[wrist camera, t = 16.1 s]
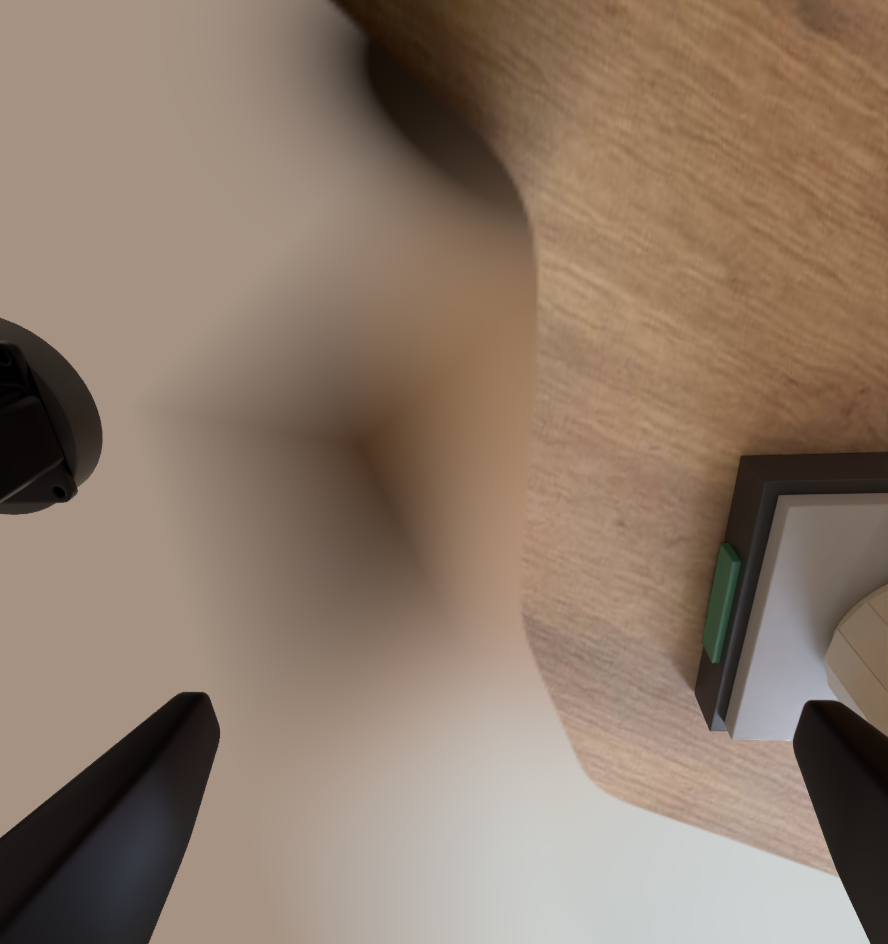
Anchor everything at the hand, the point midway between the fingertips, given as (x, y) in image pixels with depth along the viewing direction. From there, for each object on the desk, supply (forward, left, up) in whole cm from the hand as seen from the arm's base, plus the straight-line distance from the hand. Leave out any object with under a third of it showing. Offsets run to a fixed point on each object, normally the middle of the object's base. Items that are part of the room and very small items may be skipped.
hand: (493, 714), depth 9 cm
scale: (+15, -8, -13) cm, 21 cm away
